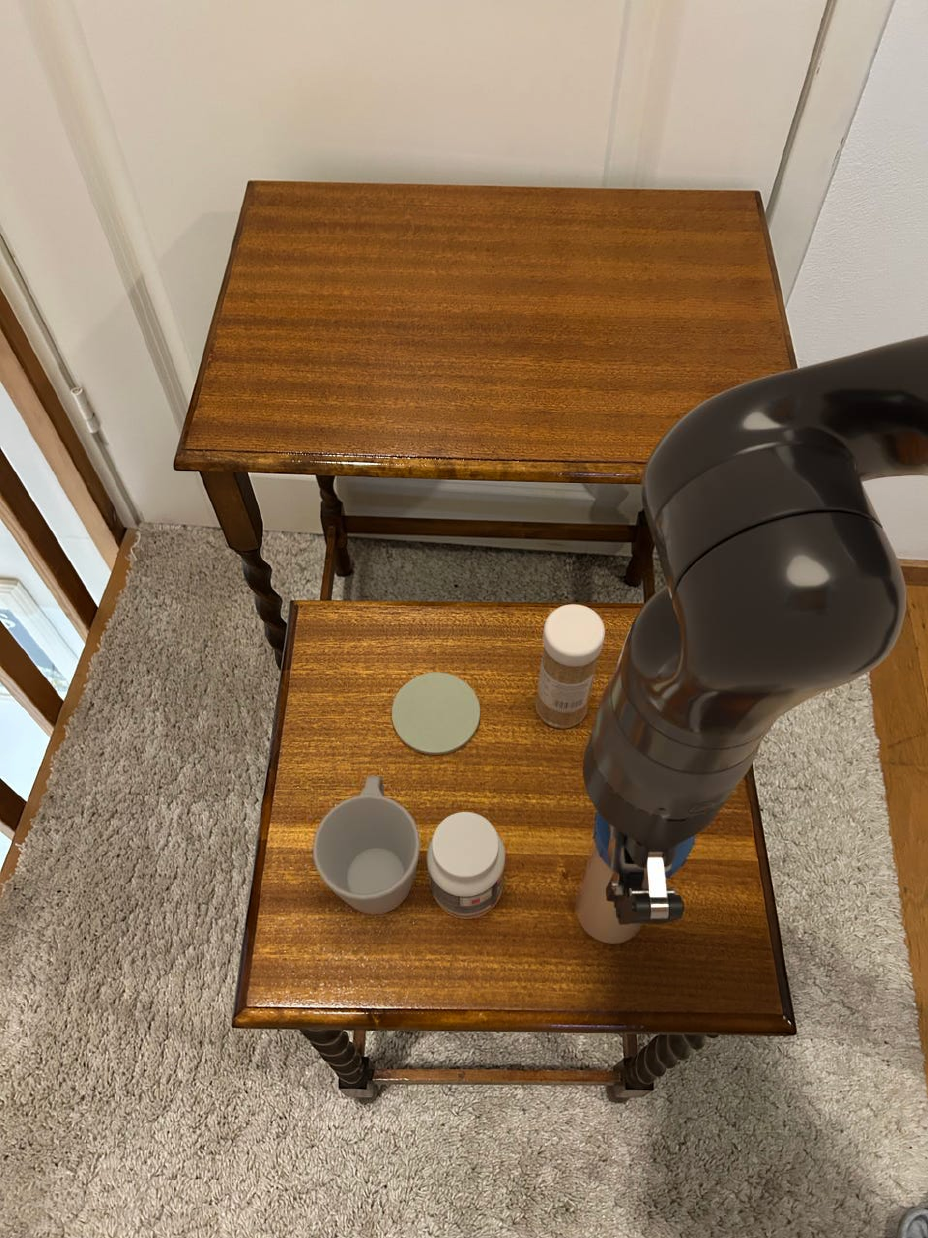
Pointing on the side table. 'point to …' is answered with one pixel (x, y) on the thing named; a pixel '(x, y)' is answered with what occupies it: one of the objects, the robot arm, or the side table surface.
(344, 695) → the side table surface
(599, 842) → the lid
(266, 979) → the side table surface
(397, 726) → the coaster
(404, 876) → the cup
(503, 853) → the pill bottle
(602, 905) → the beige plastic cylinder
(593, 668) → the sprinkles bottle
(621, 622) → the side table surface
